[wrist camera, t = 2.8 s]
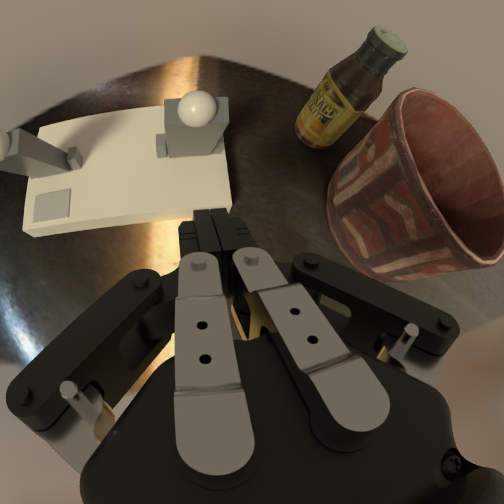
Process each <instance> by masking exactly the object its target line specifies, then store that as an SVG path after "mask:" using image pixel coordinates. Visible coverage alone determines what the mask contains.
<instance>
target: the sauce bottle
mask: <svg viewBox="0 0 504 504" xmlns="http://www.w3.org/2000/svg"><path fill="white" fill-rule="evenodd" d="M406 53H407V48H406V46H405V44H404V43H403V42H402V41H401V40H400V38H398V37H397V36H396V35H395V34H393V33H392V32H391V31H389V30H387V29H385V28H383V27H380V26H376V27H374V28H373V29H372V30H371V31H370V32H369V33H368V36H367V39H366V41H365V42H364V43H363V44H362V46H361V47H360V48H359V49H358V50H357V51H356V52H355V53H353V54H352V55H350V56H349V57H347V58H346V59H344V60H342V61H341V62H339V63H338V64H336V65H335V66H334V67H333V68H330V69H329V71H328V72H327V73H326V75H325V76H324V78H323V79H322V81H321V82H320V84H319V85H318V87H317V88H316V89H315V91H314V92H313V94H312V96H311V97H310V99H309V100H308V102H307V103H306V104H305V106H304V107H303V109H302V110H301V112H300V113H299V115H298V118H297V120H296V123H295V131H296V134H297V136H298V137H299V139H300V140H301V141H302V142H303V143H304V144H305V145H306V146H308V147H311V148H314V149H320V150H321V149H325V148H327V147H329V146H330V145H332V144H333V143H334V142H335V141H336V140H337V139H338V138H339V137H340V136H341V135H342V134H343V133H344V132H345V131H346V130H347V129H348V128H349V127H350V126H351V125H352V124H353V123H354V122H355V121H356V120H357V119H358V118H359V117H360V116H361V115H362V114H363V113H364V112H365V111H366V110H367V109H368V107H369V105H370V104H371V103H372V102H373V101H374V100H376V99H377V97H378V96H379V95H380V93H381V91H382V82H383V77H384V75H385V74H387V72H388V70H389V69H390V68H391V67H392V66H393V65H394V64H395V62H396V61H399V60H401V59H402V58H403V57H404V56H405V55H406Z"/></svg>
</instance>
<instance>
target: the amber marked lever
mask: <svg viewBox="0 0 504 504" xmlns="http://www.w3.org/2000/svg"><path fill="white" fill-rule="evenodd" d="M228 124H229V109H228V97H212V96H211V95H210V94H208V93H206V92H204V91H192V92H189V93H187V94H186V95H184V96H183V97H182V98H178V99H164V127H165V134H166V141H167V147H168V153H169V158H176V157H189V156H205V155H210V154H211V152H212V150H213V149H214V147H215V145H216V144H217V142H218V140H219V139H220V137H221V135H222V134H223V132H224V130H225V129H226V127H227V125H228Z"/></svg>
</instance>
